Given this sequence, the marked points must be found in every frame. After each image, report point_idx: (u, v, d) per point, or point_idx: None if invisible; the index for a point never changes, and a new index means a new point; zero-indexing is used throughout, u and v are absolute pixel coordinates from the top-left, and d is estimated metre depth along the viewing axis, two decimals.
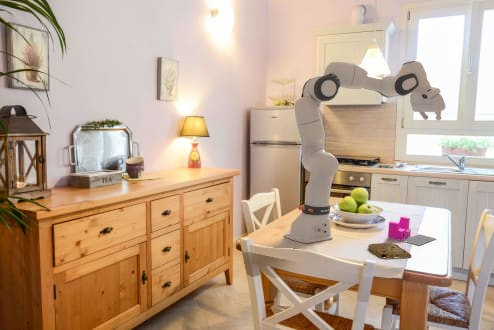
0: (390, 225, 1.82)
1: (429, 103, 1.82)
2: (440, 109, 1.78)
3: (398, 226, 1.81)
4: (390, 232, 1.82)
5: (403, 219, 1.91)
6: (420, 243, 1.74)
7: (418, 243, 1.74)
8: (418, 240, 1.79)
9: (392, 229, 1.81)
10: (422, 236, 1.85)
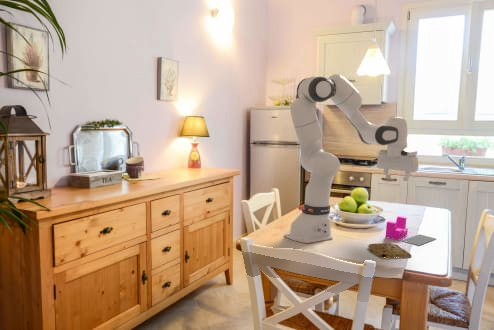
0: (388, 225, 1.82)
1: (403, 162, 1.85)
2: (414, 170, 1.81)
3: (396, 226, 1.82)
4: (387, 232, 1.82)
5: (400, 219, 1.91)
6: (420, 243, 1.74)
7: (418, 243, 1.74)
8: (418, 240, 1.79)
9: (390, 228, 1.82)
10: (422, 236, 1.85)
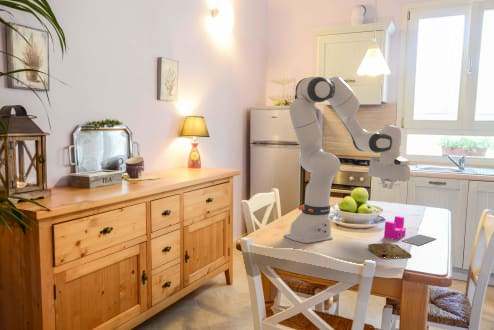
0: (386, 225, 1.82)
1: (396, 170, 1.85)
2: (406, 179, 1.81)
3: (394, 226, 1.82)
4: (386, 231, 1.82)
5: (398, 218, 1.91)
6: (420, 243, 1.74)
7: (418, 243, 1.74)
8: (418, 240, 1.79)
9: (388, 228, 1.82)
10: (422, 236, 1.85)
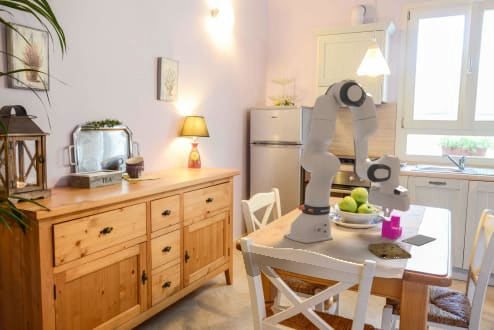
0: (383, 224, 1.82)
1: (395, 200, 1.86)
2: (406, 209, 1.83)
3: (391, 225, 1.82)
4: (383, 231, 1.83)
5: (394, 218, 1.92)
6: (420, 243, 1.74)
7: (418, 243, 1.74)
8: (418, 240, 1.79)
9: (386, 227, 1.82)
10: (422, 236, 1.85)
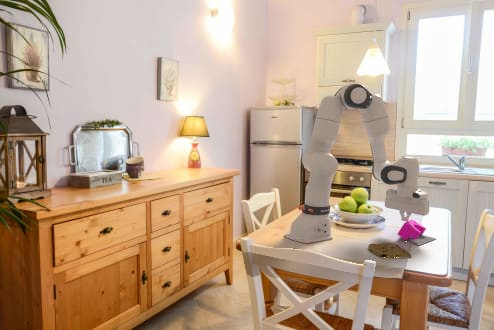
0: (415, 232, 1.75)
1: (414, 204, 1.79)
2: (425, 213, 1.76)
3: None
4: (409, 228, 1.76)
5: (421, 230, 1.85)
6: (420, 243, 1.74)
7: (418, 243, 1.74)
8: (418, 240, 1.79)
9: (411, 232, 1.76)
10: (422, 236, 1.85)
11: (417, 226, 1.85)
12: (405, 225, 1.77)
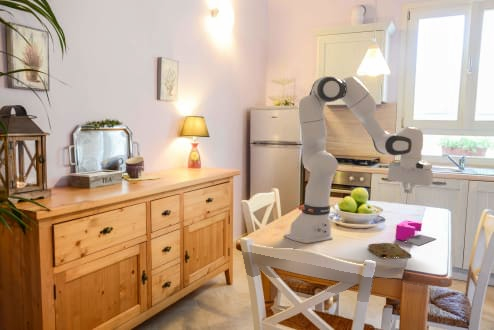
0: (410, 229, 1.76)
1: (417, 175, 1.77)
2: (429, 184, 1.74)
3: None
4: (403, 228, 1.78)
5: (418, 226, 1.86)
6: (420, 243, 1.74)
7: (418, 243, 1.74)
8: (418, 240, 1.79)
9: (406, 231, 1.77)
10: (422, 236, 1.85)
11: (412, 224, 1.86)
12: (398, 227, 1.79)
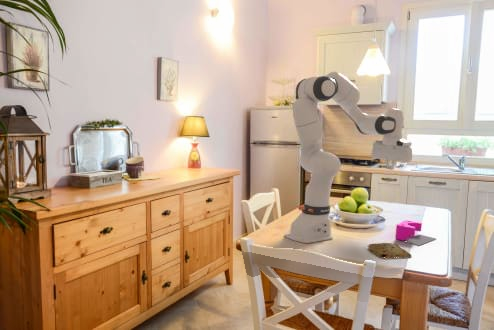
0: (410, 229, 1.76)
1: (398, 152, 1.92)
2: (408, 160, 1.89)
3: None
4: (403, 228, 1.78)
5: (418, 226, 1.86)
6: (420, 243, 1.74)
7: (418, 243, 1.74)
8: (418, 240, 1.79)
9: (406, 231, 1.77)
10: (422, 236, 1.85)
11: (412, 224, 1.86)
12: (398, 227, 1.79)
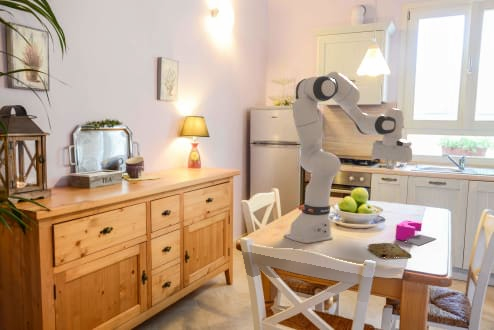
0: (410, 229, 1.76)
1: (398, 152, 1.92)
2: (408, 160, 1.89)
3: None
4: (403, 228, 1.78)
5: (418, 226, 1.86)
6: (420, 243, 1.74)
7: (418, 243, 1.74)
8: (418, 240, 1.79)
9: (406, 231, 1.77)
10: (422, 236, 1.85)
11: (412, 224, 1.86)
12: (398, 227, 1.79)
